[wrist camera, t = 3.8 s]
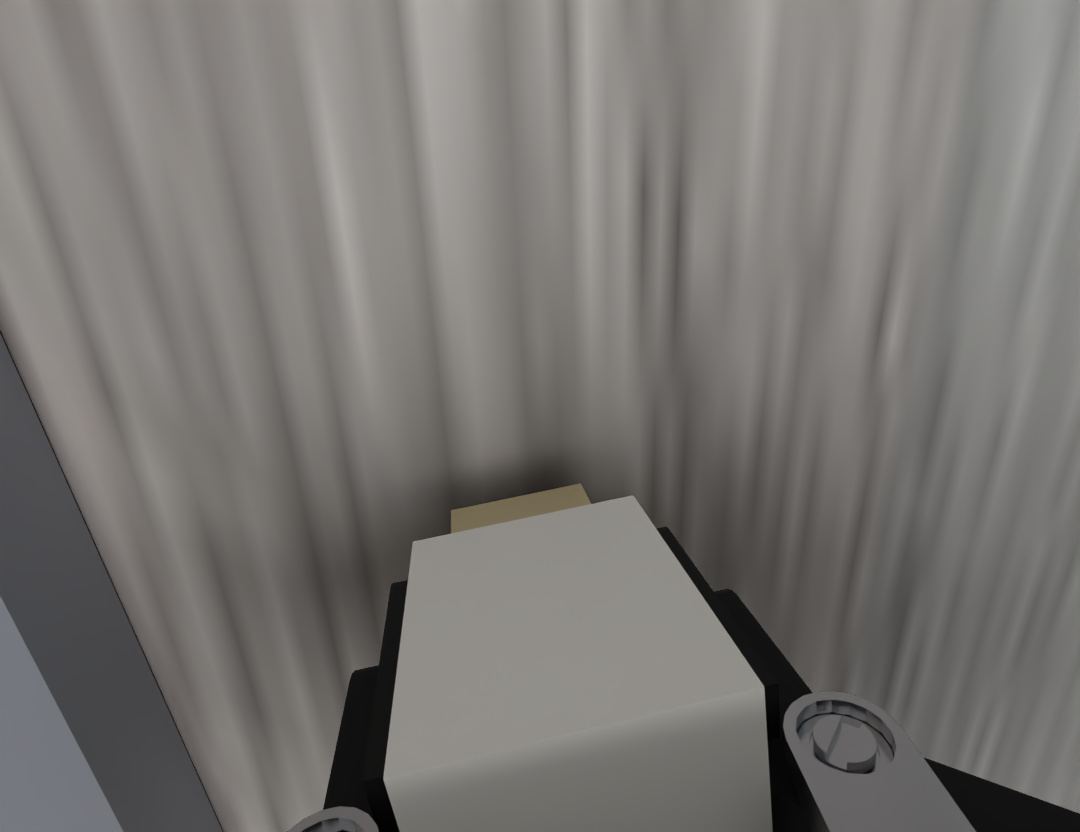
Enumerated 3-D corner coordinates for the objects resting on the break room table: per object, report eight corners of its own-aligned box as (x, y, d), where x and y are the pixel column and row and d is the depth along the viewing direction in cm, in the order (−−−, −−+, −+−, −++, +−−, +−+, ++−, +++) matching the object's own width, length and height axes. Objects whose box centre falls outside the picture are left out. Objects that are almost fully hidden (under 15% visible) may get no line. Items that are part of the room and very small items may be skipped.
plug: (620, 627, 14) (782, 1011, 7) (467, 662, 14) (483, 1098, 7) (593, 436, 13) (764, 687, 6) (421, 470, 12) (383, 777, 5)
